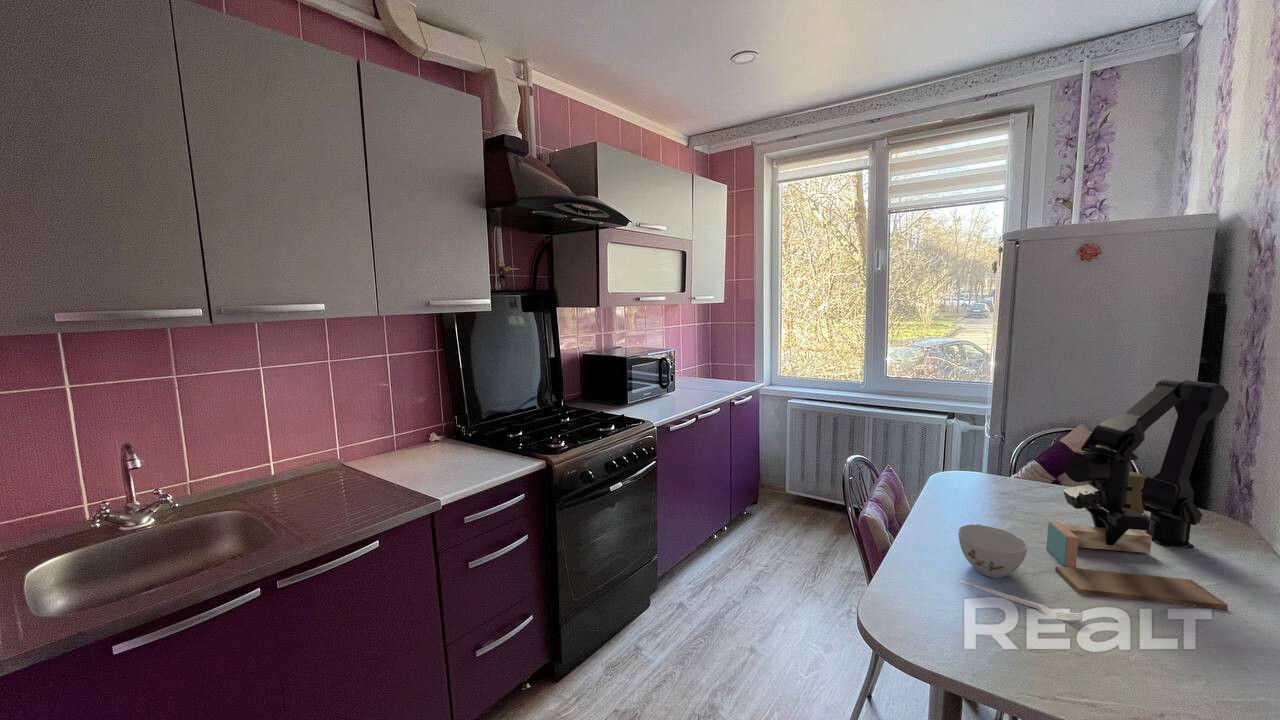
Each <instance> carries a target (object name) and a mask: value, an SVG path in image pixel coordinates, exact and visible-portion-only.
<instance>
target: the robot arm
mask: <svg viewBox="0 0 1280 720" xmlns="http://www.w3.org/2000/svg"><path fill="white" fill-rule="evenodd" d="M1229 399H1230V393H1229V391H1228V390H1227V389H1226V388H1225V387H1224V385H1222V384H1221V383H1219V384H1218V383H1213V382H1204V381H1197V380H1187V379H1186V380H1183V381H1179V380H1178V381H1176V380H1171V379H1163V380H1159V381H1157V383H1156V384H1155V387H1154V388H1153V389H1151V391H1150V392H1148V393H1147V394H1145V396H1143V397H1142V398H1141V399H1140V400H1138V402H1136V403H1135V404H1134V405H1133V406H1131V408H1128V409H1127V411H1125V412H1124V413H1122V414H1121V415H1118V416H1113V417H1109V418H1107V419H1105V420H1104V421H1101V422H1100V423H1099V424H1097V425H1096V426H1095V427H1094V429H1093V430H1092V431H1091V433H1090V434H1089V436H1088V437H1087V439H1086V440H1085V441H1084V443H1083V445H1082V446H1081V447H1080V450H1081V451H1075V452H1074V453H1073V456H1071V457H1069V458H1068V459H1067V460H1066V461H1065V462H1064V464H1063V470H1064V473H1065V475H1066V476H1067V477H1068V478H1069V479H1070V480H1071V481H1073V482H1076V483H1087V482H1088V484H1084V485H1077V486H1072V487H1068V488H1064V489H1063V490H1062V493H1063V495H1064V498H1065V500H1066V503H1067V504H1069V505H1070V506H1072V508H1074V509H1076V510H1080V509H1085V510H1086V511H1087V512H1088V513H1090V516H1091V519H1092V521H1093V525H1094V526H1093V527H1100V528H1105V533H1106V544H1107V545H1111V546H1112V545H1114V544H1115V543H1116V542H1117V541H1118V539H1119V538H1120V537H1121V536H1122V535H1123V534H1124V533H1125V532H1126V531H1127V530H1140V531H1144V532H1146V533H1147V534H1149V535H1150V536H1152V540H1153V539H1154V540H1153V541H1155V542H1156V541H1157V542H1156V543H1158V542H1159V543H1160V544H1159V543H1158V544H1159V545H1161V544H1162V546H1169V545H1173V546H1172V547H1181V546H1187V547H1186V548H1192V547H1193V548H1195V545H1194V544H1192V543H1191V542H1190V534H1191V527H1192V526H1197V525H1198V524H1200V522H1201V521H1202V517H1203V513H1202V512H1201V510H1200V509H1199V508H1198V507H1197V505H1195V503H1194V498H1195V491H1194V489H1193V487H1192V485H1191V482H1190V481H1189V480H1190V477H1191V474H1192V470H1193V467H1194V464H1195V462H1196V458H1197V456H1198V452H1199V449H1200V446H1201V443H1202V440H1203V436H1204V434H1205V431H1206V428H1207V425H1208V422H1210V421H1211V420H1212V419H1214V418H1215V417H1217V416H1218V415H1219V414H1221V413H1222V411H1223V410H1224V408H1225V405H1226V404H1227V402H1228V401H1229ZM1172 408H1174V410H1175V412H1176V414H1177V416H1176V417H1177V418H1176V420H1175V424H1174V426H1173V428H1172V429H1173V430H1172V433H1171V435H1170V436H1171V437H1170V439H1169V441H1168V445H1167V447H1166V451H1165V454H1164V457H1163V460H1162V463H1161V467H1160V469H1159V471H1158V473H1157V474H1154V475H1153V476H1152V477H1151V476H1146V477H1145V480H1144V485H1143V486H1142V489H1141V491H1140V492H1141V500H1142V505H1143V509H1144V512H1149V513H1150V516H1149V518H1148V517H1146V516H1145V515H1142V514H1140V513H1138V512H1137V511H1126V510H1122V509H1123V508H1131V504H1130V503H1128V502H1126V499H1127V491H1132V490H1133V487H1132V486H1130V485H1128V480H1129V472H1130V469H1131V461H1137V460H1138V459H1139V457H1138V456H1137V455H1136V454H1135V453H1133V452H1135V451H1136V450H1137V449H1138V447H1139V446H1140V445H1141V444H1142V443H1143V442H1144V441H1145V432H1146V431H1147V430H1148V428H1150V427H1151V426H1152V425H1153V424H1155V423H1156V422H1157V421H1158V420H1159V419H1160V418H1162V417H1163V416H1164V415H1165V414H1166V413H1167V412H1169V411H1170V410H1171V409H1172Z"/></svg>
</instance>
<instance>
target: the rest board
mask: <svg viewBox="0 0 1280 720" xmlns="http://www.w3.org/2000/svg"><path fill="white" fill-rule="evenodd" d="M1054 569H1055V572H1056V573H1057V574H1058V575H1059V576H1060V577H1061V578H1062V579H1064V581H1066V583H1067V584H1068V585H1069V586H1071V588H1073V589H1074V591H1075V592H1077V594H1080V595H1091V596H1100V597H1108V598H1117V599H1126V600H1127V599H1128V600H1137V601H1144V600H1146V601H1144V602H1152V601H1157V602H1156V603H1163V604H1171V603H1173V604H1172V605H1180V604H1187V605H1186V606H1189V605H1196V606H1195V607H1198V606H1202V607H1201V608H1207V607H1209V608H1208V609H1218V610H1225V611H1227V610H1228V606H1229V605H1228V604H1227V603H1226V602H1224V601H1223V600H1222V599H1221V598H1218V597H1217V596H1216V595H1215V594H1213V593H1211V592H1210V591H1209V590H1207V589H1206V588H1204V587H1203V586H1201V585H1200V584H1198V583H1197V582H1196V581H1194V580H1193V579H1189V578H1179V577H1168V576H1158V575H1148V574H1139V573H1138V574H1137V573H1129V572H1121V571H1119V572H1118V571H1108V570H1098V569H1090V568H1089V569H1088V568H1079V567H1066V566H1055V567H1054ZM1147 600H1148V601H1147ZM1174 603H1176V604H1174Z"/></svg>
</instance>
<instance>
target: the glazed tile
mask: <svg viewBox="0 0 1280 720" xmlns="http://www.w3.org/2000/svg"><path fill="white" fill-rule="evenodd" d="M1047 522H1048V523H1047V524H1048V526H1047V535H1046V545H1045V546H1046V548H1045V549H1046V551H1048V553H1049V554H1051V555H1052V556H1053V557H1054V558H1055V559H1056V560H1057V561H1058V562H1059V563H1060V564H1061V565H1062V566H1063V567H1069V568H1077V567H1076V566H1077V558H1078V548H1079V547H1078V537H1077V536H1076V535H1075V534H1073V533H1072V532H1071V531H1070V530H1068V529H1067V528H1066V527H1065V526H1063V525H1064V524H1062V523H1061V522H1059V521H1047Z"/></svg>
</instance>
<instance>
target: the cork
mask: <svg viewBox="0 0 1280 720" xmlns="http://www.w3.org/2000/svg"><path fill="white" fill-rule="evenodd" d="M1145 479H1146V477H1145V476H1144V475H1143V474H1141V473H1139V472H1133V471H1129V480H1128V485H1130V486H1132V487H1133V490H1132V491H1127V499H1126V502H1128V503H1130V504H1131V508H1123V509H1122V510H1126V511H1137V512H1138V513H1140V514H1143V513H1144V514H1145V510H1144V509H1143V505H1142V500H1141V492H1140V491H1141V489H1142V488H1143V485H1144V480H1145Z"/></svg>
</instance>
